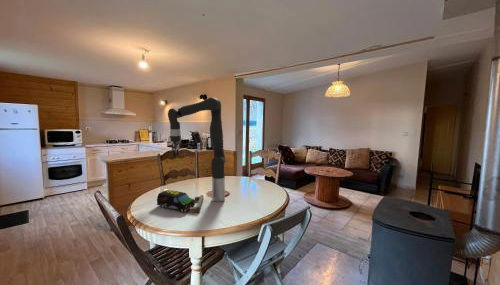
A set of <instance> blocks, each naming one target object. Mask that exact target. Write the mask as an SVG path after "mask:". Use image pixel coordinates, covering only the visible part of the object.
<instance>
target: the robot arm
mask: <svg viewBox="0 0 500 285" xmlns="http://www.w3.org/2000/svg"><path fill="white" fill-rule="evenodd" d="M203 111H210V114H211V120H210V126H209V136H210V137H209V138H210V142H211V145H212V148H213V158H212V159H211V164H210V165H211V166H210V167H211V169H210V170H211V176H212V177H211V182H212V183H211V186H212V188H211V189H212V190H211V192H212V193H211V194H212V195H211V200H212V201H213V202H215V203H217V202H219V203H221V202H225V201H226V200H225V199H226V194H225V193H226V182H225V180H226V174H225V164H226V157H225V156H226V155H225V151H224V131H223V124H222V102H221V100H220V99H218V98H216V97H208V98H207V99H204V100H202V101H198V102H196V103H192V104H188V105H187V104H186V105H183V106H181V107H179V108H169V110H168V111H167V117H168V121H169V126H170V132H169V139H170V142H171V152H172V154H173V155H172V158H177V156H180V142H181V141H182V136H181V135H182V134H181V123H180V121H178V119H180V118H184V117H185V116H186V117H187V116H191V115H193V114H196V113H199V112H203Z"/></svg>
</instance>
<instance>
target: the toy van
mask: <svg viewBox="0 0 500 285" xmlns="http://www.w3.org/2000/svg"><path fill="white" fill-rule="evenodd" d="M157 194H158V195H157V197H156V206H160V208H161V209H163V210H164V209H166V208H168V209H172V210H178V211H179V213H180V214H181V213H182V214H185V212H186V211H187V212H188V210H190V207H195V205H196V202H195V198H192V197H190V196H189V195H188V194H187V193H186V192H182V191H177V190H171V189H166V190H164V191H161V192H159V193H157Z"/></svg>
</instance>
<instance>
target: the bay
mask: <svg viewBox="0 0 500 285" xmlns="http://www.w3.org/2000/svg"><path fill="white" fill-rule="evenodd" d="M194 200H195V201H198V202H197V204H196V206H194V207H190V209H189V213H190V214H200V213H201V209H202V205H203V203H204V195H203V194H201V195H200V196H194Z"/></svg>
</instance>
